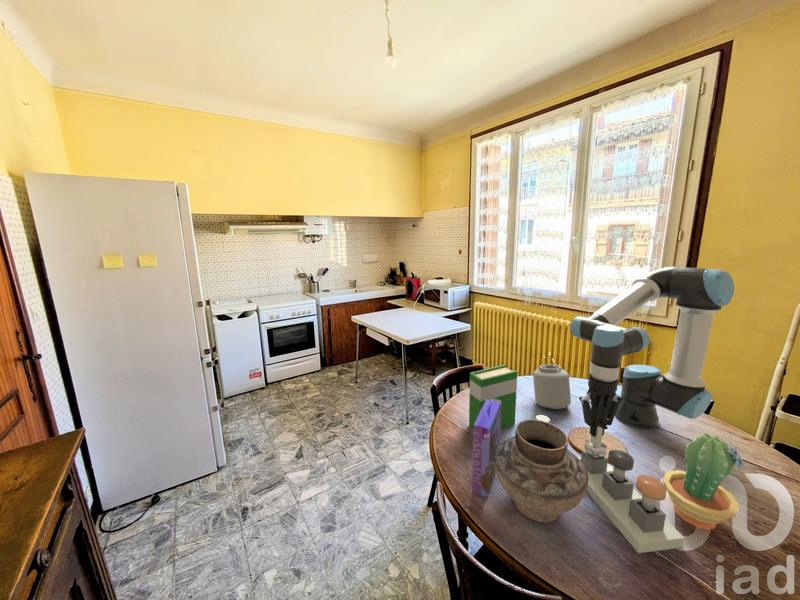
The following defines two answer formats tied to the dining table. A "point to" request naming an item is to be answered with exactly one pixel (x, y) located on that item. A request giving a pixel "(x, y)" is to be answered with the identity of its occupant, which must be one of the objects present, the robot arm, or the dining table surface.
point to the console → (629, 509)
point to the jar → (552, 386)
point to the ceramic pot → (540, 471)
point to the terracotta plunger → (650, 491)
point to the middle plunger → (620, 463)
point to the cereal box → (485, 446)
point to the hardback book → (493, 392)
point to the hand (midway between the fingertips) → (595, 444)
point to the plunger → (595, 449)
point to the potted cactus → (704, 482)
